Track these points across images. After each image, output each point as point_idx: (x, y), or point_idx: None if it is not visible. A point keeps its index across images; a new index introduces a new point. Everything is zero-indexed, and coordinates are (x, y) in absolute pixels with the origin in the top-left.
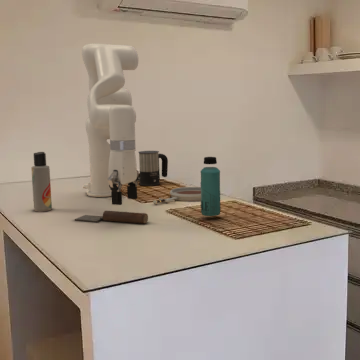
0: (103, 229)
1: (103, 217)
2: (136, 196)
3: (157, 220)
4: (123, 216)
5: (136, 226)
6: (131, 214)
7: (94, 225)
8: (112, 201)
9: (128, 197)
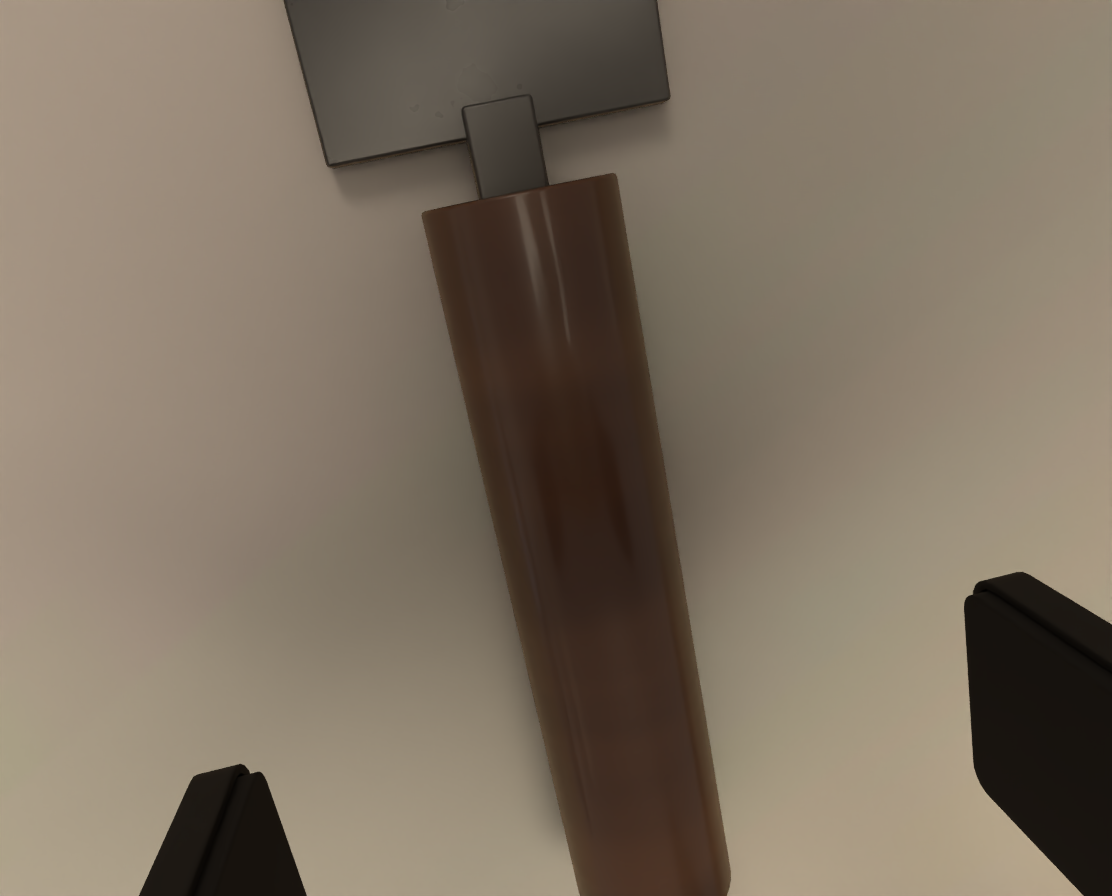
0: (70, 564)
1: (426, 234)
2: (1022, 822)
3: (845, 828)
4: (520, 623)
5: (463, 816)
6: (577, 756)
7: (160, 264)
8: (182, 835)
9: (979, 623)
